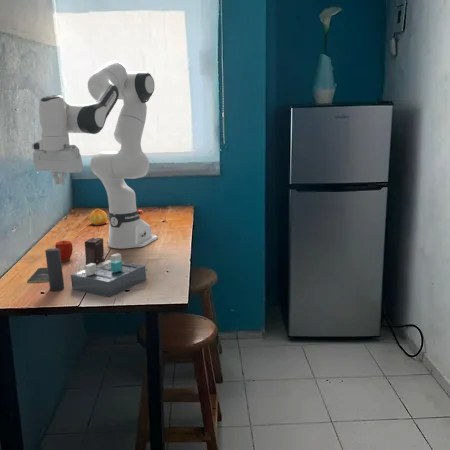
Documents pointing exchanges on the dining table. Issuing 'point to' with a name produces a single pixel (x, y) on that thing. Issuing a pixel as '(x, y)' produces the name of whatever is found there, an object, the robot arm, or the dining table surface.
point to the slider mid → (116, 266)
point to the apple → (64, 249)
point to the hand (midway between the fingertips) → (60, 184)
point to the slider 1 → (90, 269)
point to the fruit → (98, 217)
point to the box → (94, 251)
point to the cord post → (54, 269)
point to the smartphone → (39, 276)
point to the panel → (108, 279)
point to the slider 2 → (115, 257)
